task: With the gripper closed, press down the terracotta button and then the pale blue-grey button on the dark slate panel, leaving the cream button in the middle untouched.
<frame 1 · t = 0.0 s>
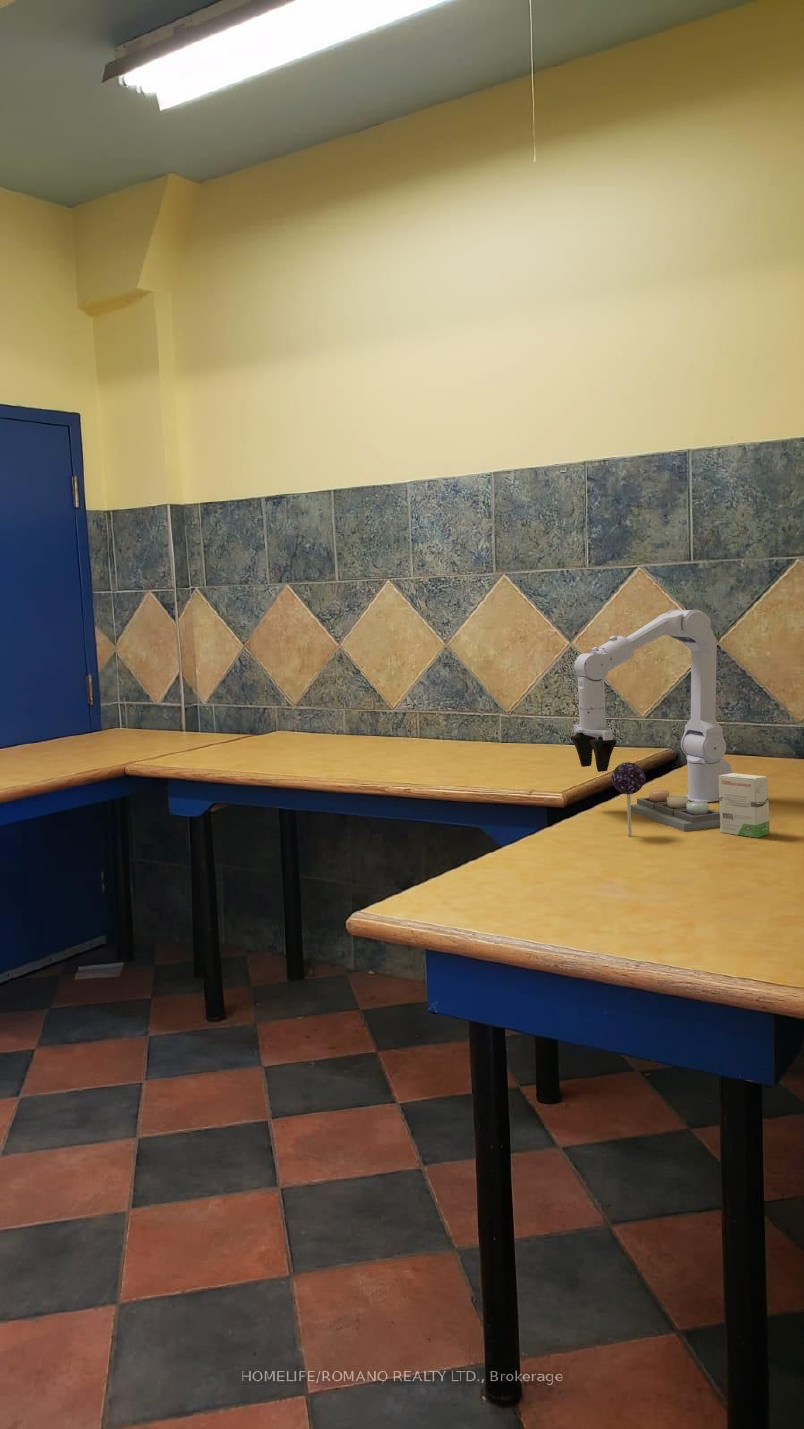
hand: (594, 768, 240), 10 cm above the table, fingers open, 7 cm apart
blue-grey button: (697, 807, 224), point 4 cm above the table, slide at 0.0 cm
panel: (678, 818, 232), on the table
terracotta button: (658, 795, 238), point 4 cm above the table, slide at 0.0 cm
ink box: (744, 834, 215), on the table
cream button: (677, 801, 231), point 4 cm above the table, slide at 0.0 cm
lollipop: (630, 836, 219), on the table
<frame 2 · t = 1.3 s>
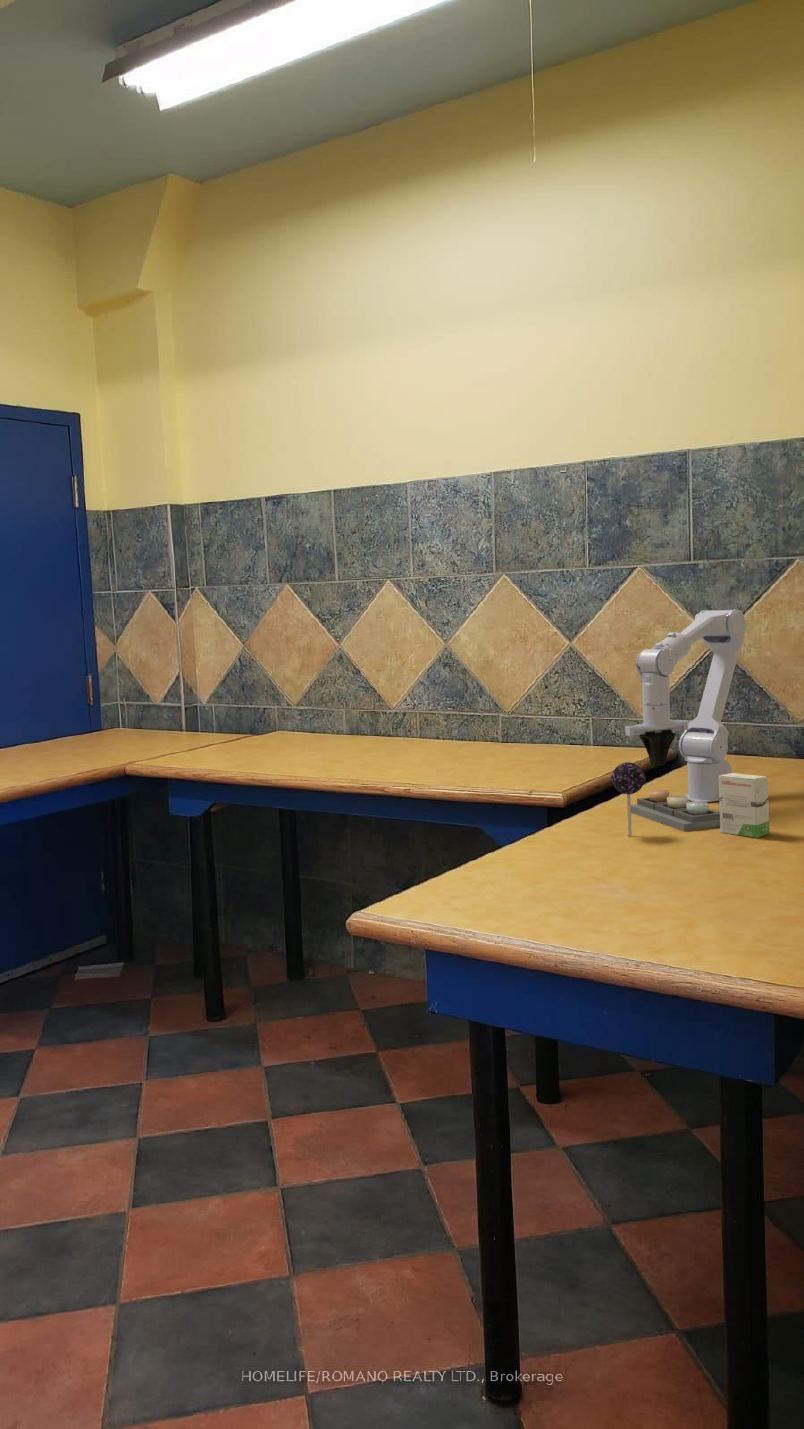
hand: (658, 765, 238), 10 cm above the table, fingers closed
nothing on the table moved.
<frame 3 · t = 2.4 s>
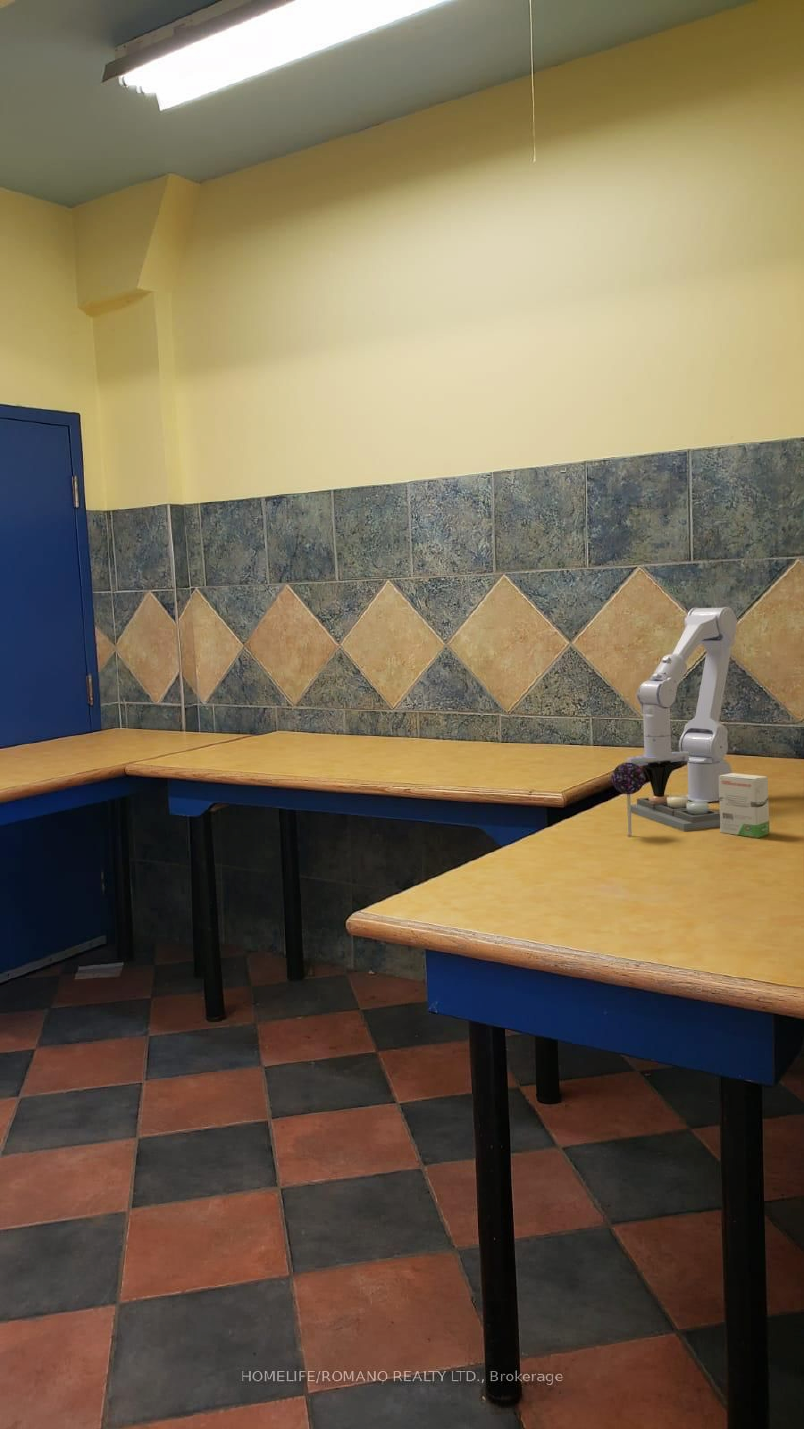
hand: (658, 796, 238), 4 cm above the table, fingers closed, pressing on terracotta button
terracotta button: (659, 799, 239), point 3 cm above the table, slide at 0.9 cm, touching gripper
everything else where it was.
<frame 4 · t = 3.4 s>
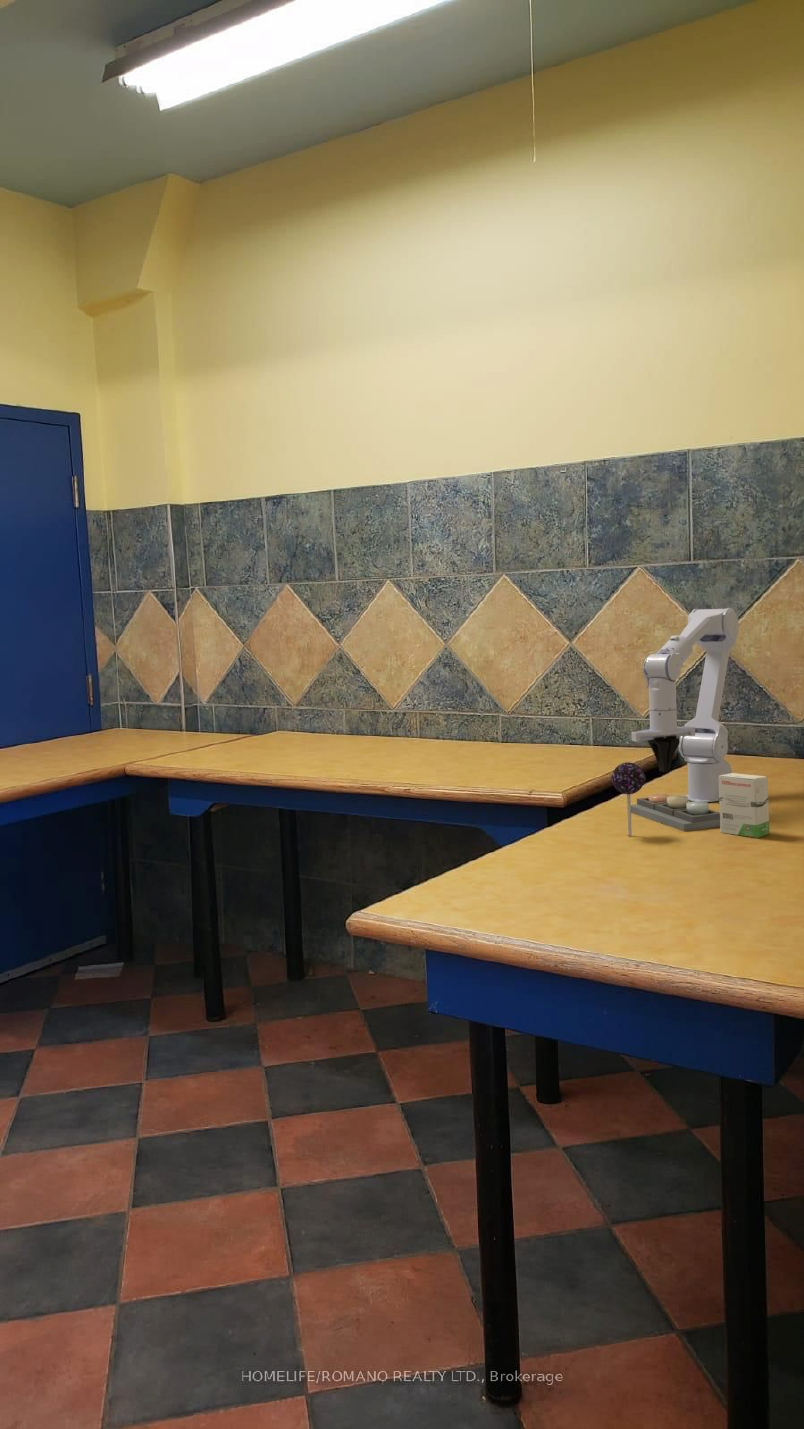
hand: (664, 771, 235), 9 cm above the table, fingers closed
terracotta button: (659, 799, 239), point 3 cm above the table, slide at 0.9 cm
everything else where it was.
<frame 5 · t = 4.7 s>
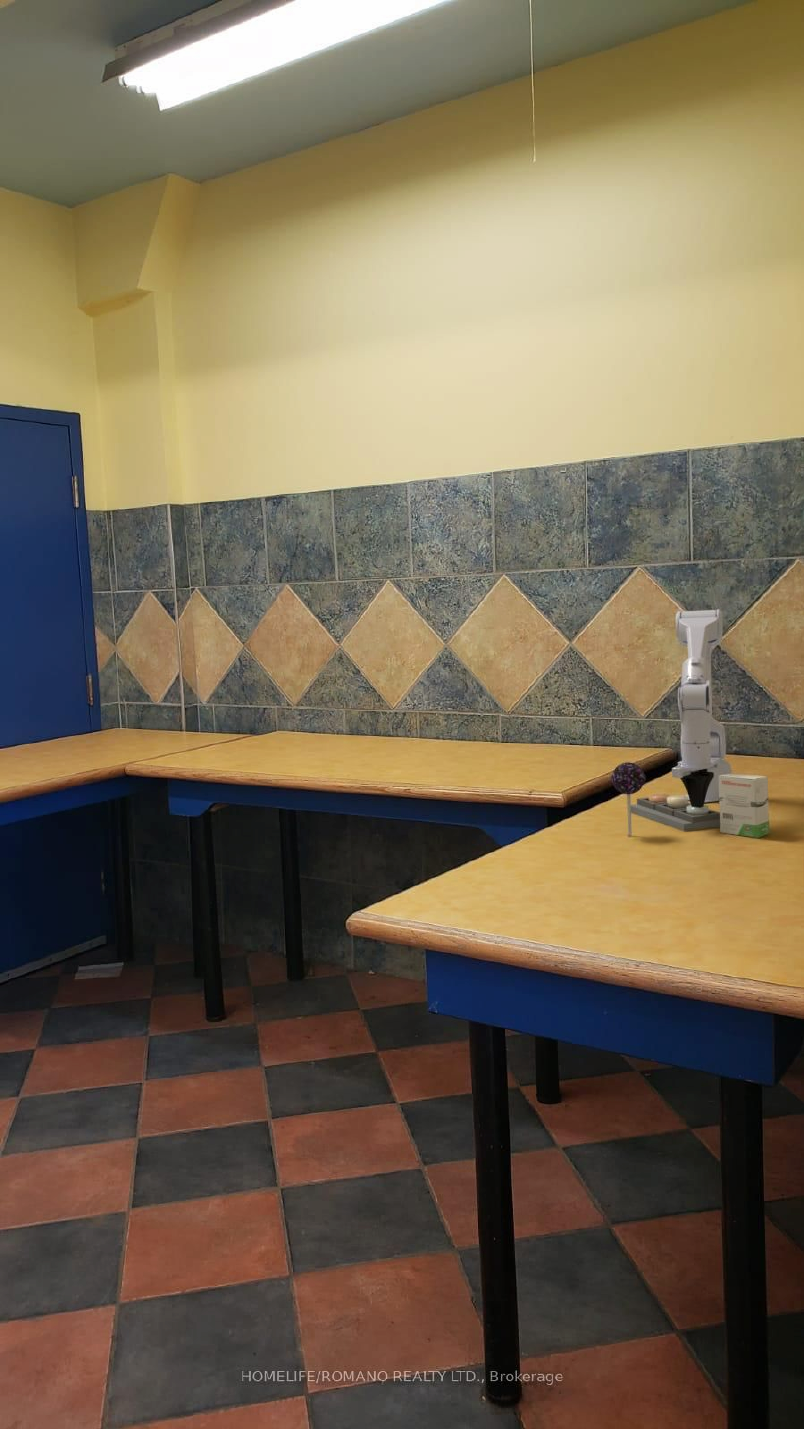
hand: (697, 806, 224), 4 cm above the table, fingers closed, pressing on blue-grey button
blue-grey button: (697, 810, 224), point 3 cm above the table, slide at 0.7 cm, touching gripper
everything else where it was.
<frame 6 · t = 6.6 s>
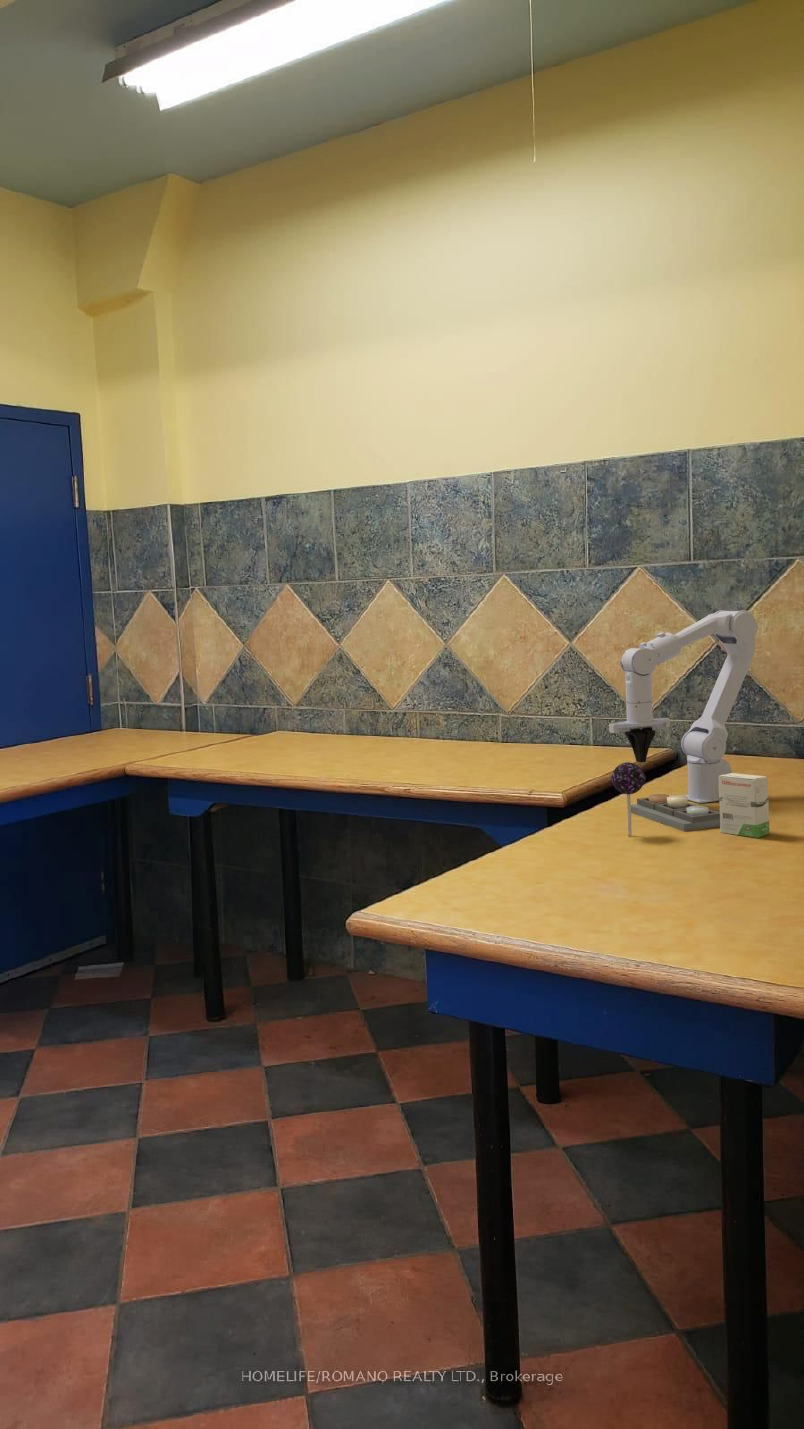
hand: (640, 761, 244), 10 cm above the table, fingers closed
blue-grey button: (697, 812, 224), point 3 cm above the table, slide at 0.9 cm
everything else where it was.
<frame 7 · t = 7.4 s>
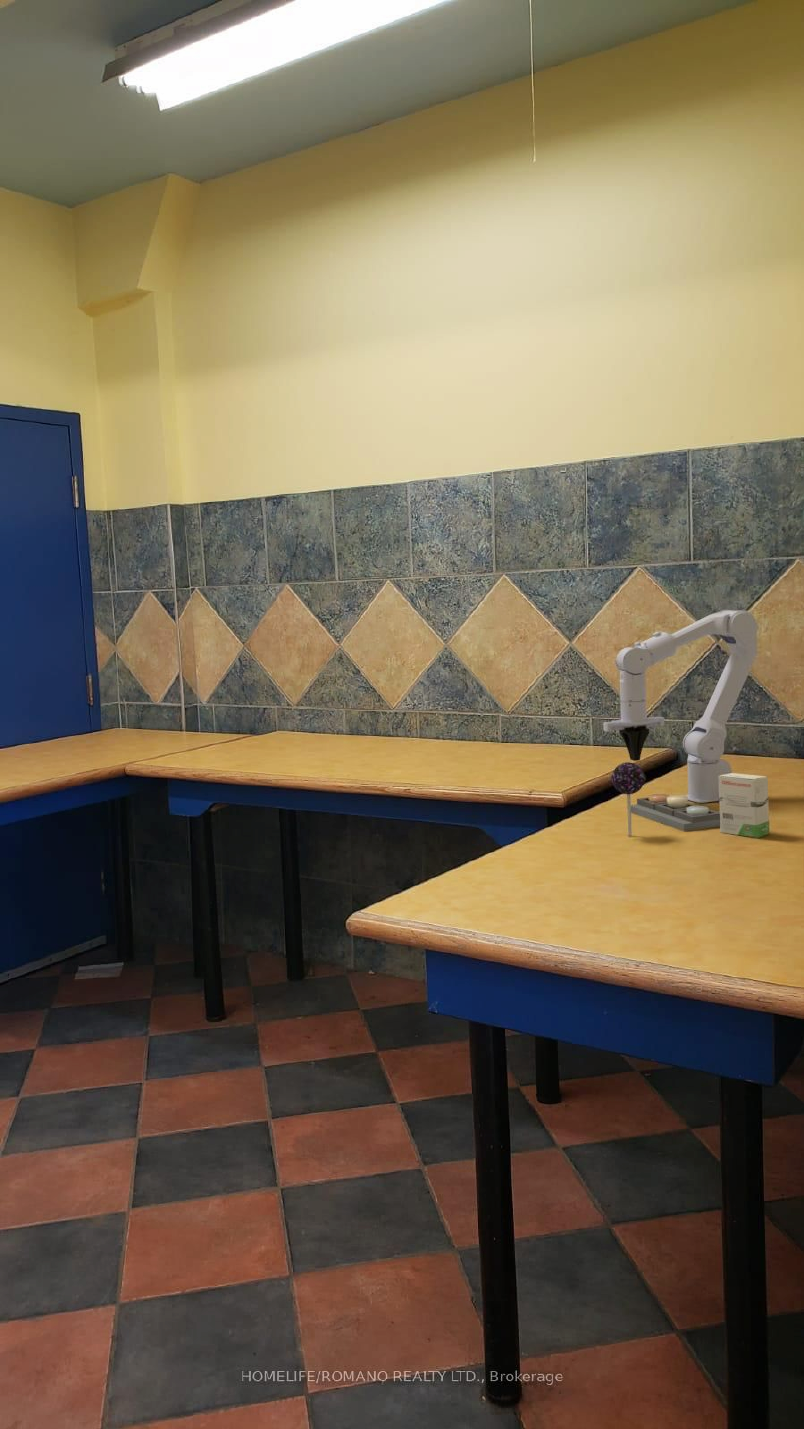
hand: (635, 760, 246), 10 cm above the table, fingers closed
nothing on the table moved.
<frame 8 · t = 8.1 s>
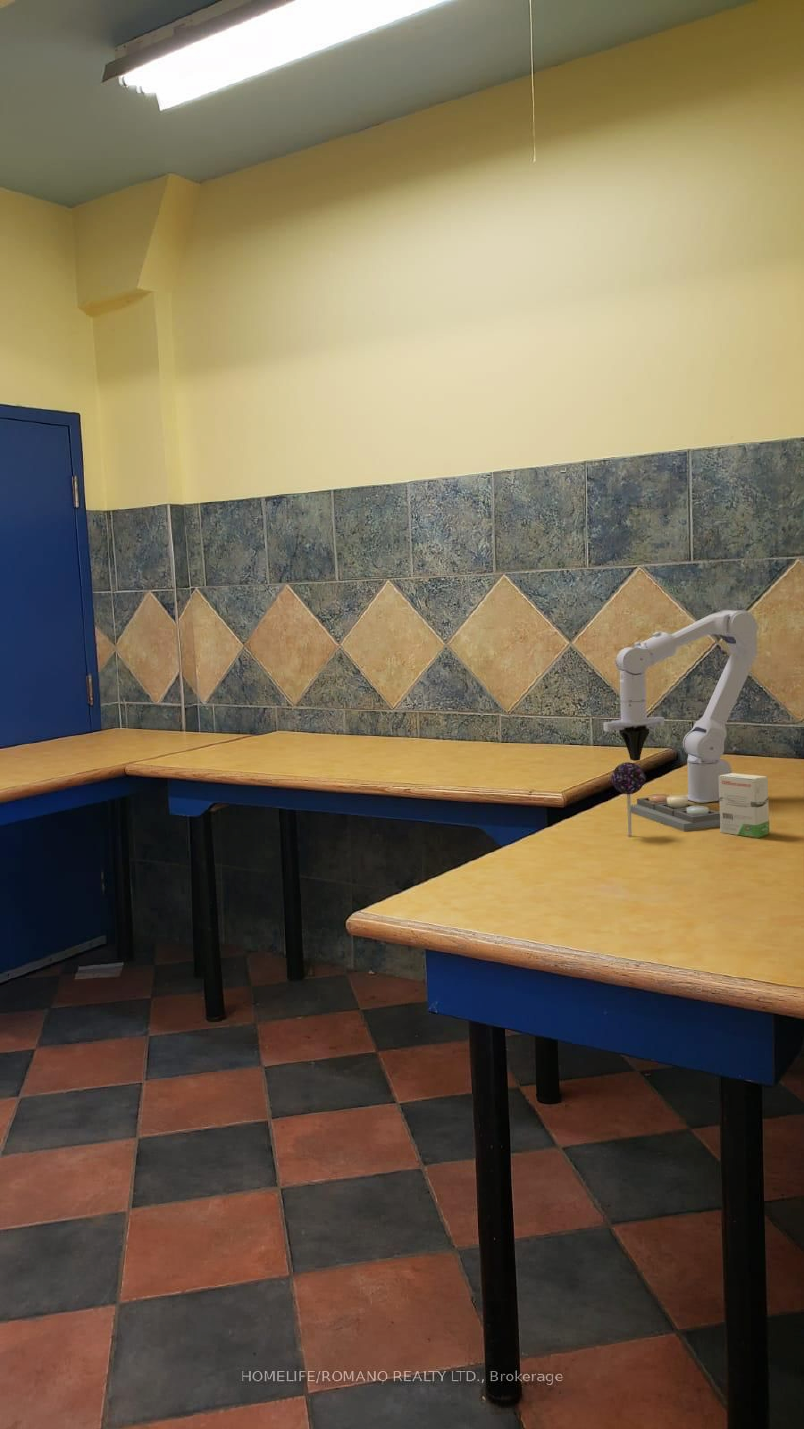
hand: (635, 760, 246), 10 cm above the table, fingers closed
nothing on the table moved.
at the end: terracotta button slide at 0.9 cm; blue-grey button slide at 0.9 cm; cream button slide at 0.0 cm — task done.
